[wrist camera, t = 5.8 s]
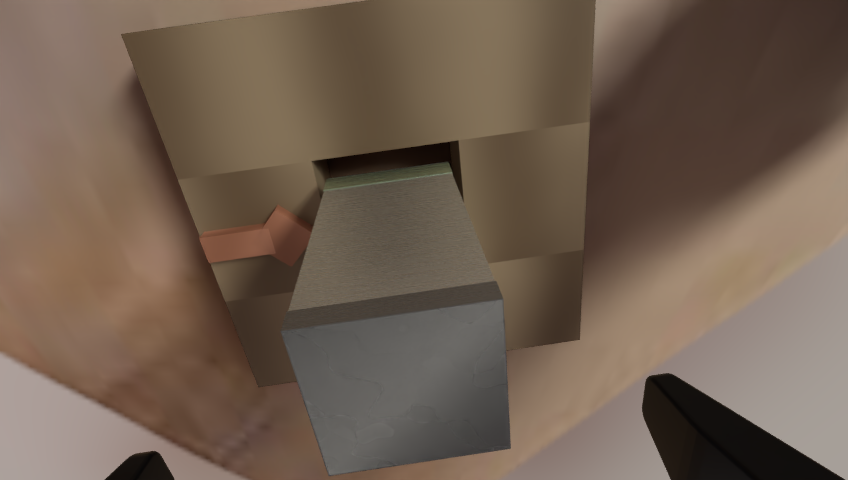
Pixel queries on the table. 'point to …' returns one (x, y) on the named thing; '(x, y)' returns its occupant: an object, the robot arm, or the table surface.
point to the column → (398, 325)
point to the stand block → (380, 140)
